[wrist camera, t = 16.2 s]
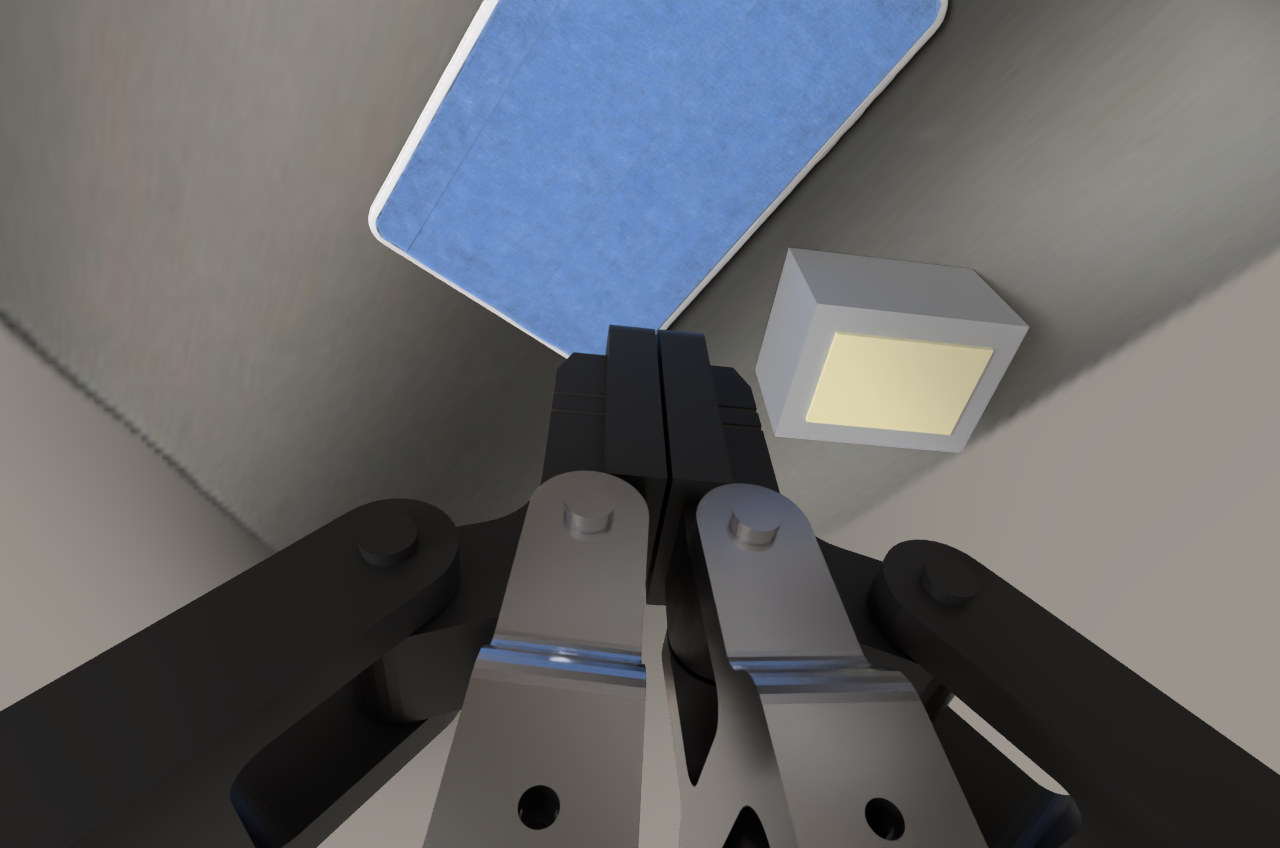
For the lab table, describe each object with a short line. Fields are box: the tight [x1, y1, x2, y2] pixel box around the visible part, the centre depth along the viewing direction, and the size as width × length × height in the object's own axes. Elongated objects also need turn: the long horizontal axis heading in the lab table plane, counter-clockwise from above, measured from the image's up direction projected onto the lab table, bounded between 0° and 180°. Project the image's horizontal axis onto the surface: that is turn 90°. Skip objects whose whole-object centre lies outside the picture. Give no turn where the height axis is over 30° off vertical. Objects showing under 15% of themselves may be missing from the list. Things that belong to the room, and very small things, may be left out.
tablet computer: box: [368, 0, 948, 358], centre depth 24 cm, size 19×13×1 cm, turn 142°
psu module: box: [755, 248, 1029, 453], centre depth 28 cm, size 8×6×5 cm
